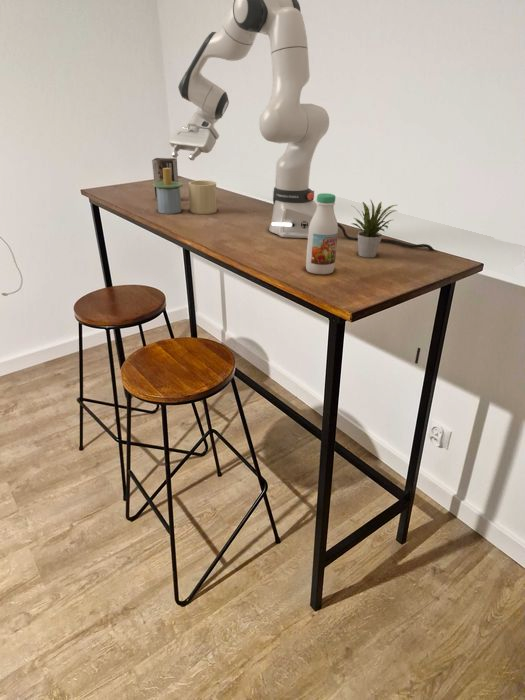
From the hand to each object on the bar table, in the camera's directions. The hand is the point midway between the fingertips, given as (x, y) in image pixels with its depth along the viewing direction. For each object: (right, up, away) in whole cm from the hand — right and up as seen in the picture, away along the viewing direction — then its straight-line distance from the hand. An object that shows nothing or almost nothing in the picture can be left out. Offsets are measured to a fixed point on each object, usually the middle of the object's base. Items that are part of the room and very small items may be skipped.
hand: (182, 157), depth 181 cm
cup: (-5, -19, +4) cm, 20 cm away
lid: (-5, -11, -1) cm, 12 cm away
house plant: (+63, -45, -39) cm, 87 cm away
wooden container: (+7, -19, +5) cm, 21 cm away
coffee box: (-10, -9, +23) cm, 26 cm away
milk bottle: (+46, -52, -51) cm, 86 cm away
